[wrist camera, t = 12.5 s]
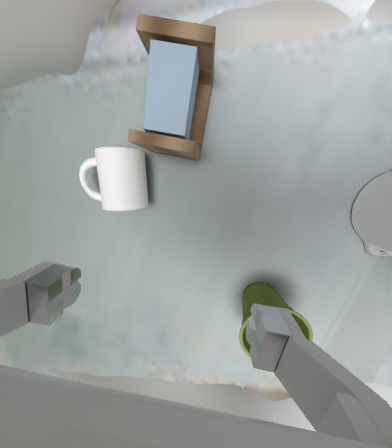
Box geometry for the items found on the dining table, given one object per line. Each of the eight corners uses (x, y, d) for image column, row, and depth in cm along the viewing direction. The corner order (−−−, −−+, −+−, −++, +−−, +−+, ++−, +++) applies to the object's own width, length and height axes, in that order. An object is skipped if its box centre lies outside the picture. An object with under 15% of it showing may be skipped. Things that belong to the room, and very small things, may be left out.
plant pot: (270, 263, 39) (294, 297, 28) (293, 304, 41) (324, 351, 30) (222, 286, 41) (226, 326, 30) (246, 324, 43) (259, 374, 32)
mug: (150, 152, 35) (133, 146, 27) (153, 204, 37) (139, 211, 30) (90, 153, 35) (58, 147, 28) (98, 203, 38) (70, 210, 30)
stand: (213, 78, 31) (215, 26, 20) (198, 160, 34) (194, 153, 24) (161, 69, 31) (137, 13, 20) (152, 152, 34) (128, 141, 24)
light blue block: (199, 71, 26) (197, 46, 21) (188, 142, 28) (184, 135, 23) (161, 64, 26) (150, 39, 21) (154, 136, 28) (142, 128, 23)
